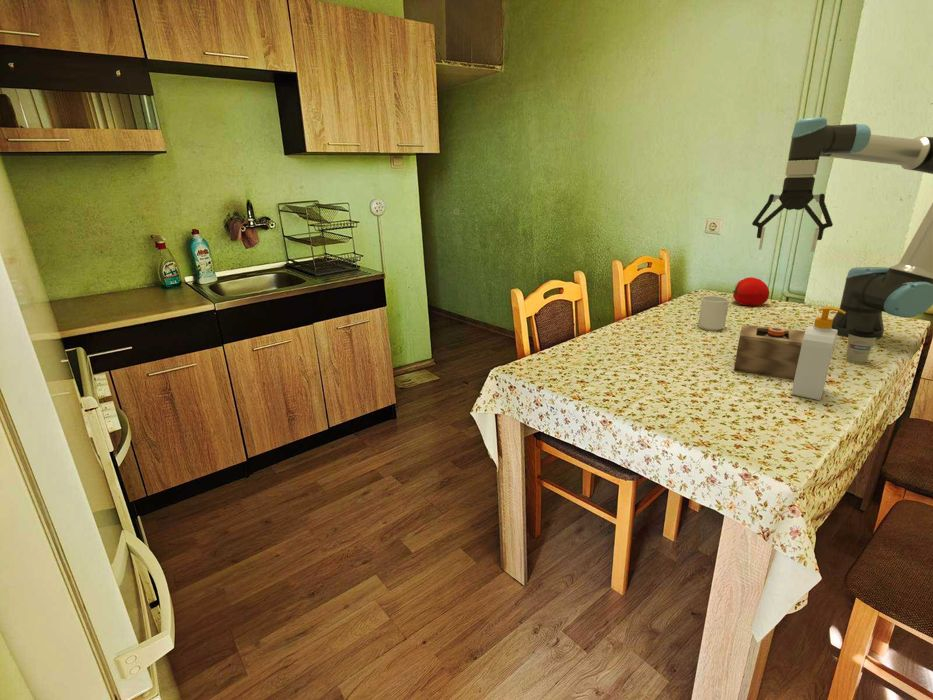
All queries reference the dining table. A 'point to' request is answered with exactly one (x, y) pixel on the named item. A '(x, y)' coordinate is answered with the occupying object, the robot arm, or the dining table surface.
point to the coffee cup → (860, 344)
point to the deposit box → (768, 352)
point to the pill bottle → (776, 333)
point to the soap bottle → (815, 357)
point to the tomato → (751, 292)
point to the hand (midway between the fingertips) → (785, 250)
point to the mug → (713, 313)
